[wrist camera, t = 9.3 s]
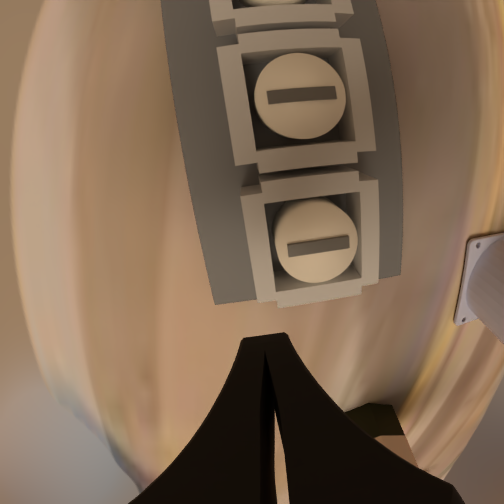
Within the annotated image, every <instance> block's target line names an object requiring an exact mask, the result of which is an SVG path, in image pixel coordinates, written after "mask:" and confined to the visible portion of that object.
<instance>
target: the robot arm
mask: <svg viewBox="0 0 504 504" xmlns="http://www.w3.org/2000/svg"><path fill="white" fill-rule="evenodd" d="M477 243H478V244H477ZM476 245H477V246H476ZM478 318H479V319H480V320H481V321H482V322H483V323H484V324H485V325H486V326H487V327H488V328H489V329H490V331H491V332H492V333H493V334H494V335H495V336H496V337H497V338H498V339H499V340H500V341H501V342H502V343H503V344H504V233H499V234H494V235H489V236H483V237H478V238H473V239H470V240H469V242H468V244H467V251H466V259H465V266H464V272H463V278H462V284H461V289H460V294H459V299H458V304H457V309H456V313H455V318H454V324H455V325H457V326H458V325H461V324H464V323H467V322H470V321H473V320H476V319H478ZM275 413H276V417H277V422H278V426H279V431H280V435H281V440H282V444H283V449H284V454H285V463H286V473H287V482H288V492H289V502H290V504H465V503H464V501H463V500H462V498H461V496H460V495H459V493H458V492H457V490H456V489H455V487H454V486H453V485H452V484H450V483H448V482H445V481H443V480H441V479H439V478H437V477H435V476H433V475H431V474H429V473H427V472H425V471H423V470H421V469H419V468H418V467H416V466H414V465H413V464H411V463H409V462H408V461H406V460H404V459H403V458H401V457H400V456H398V455H397V454H395V453H394V452H392V451H391V450H390V449H388V448H387V447H385V446H384V445H383V444H381V443H380V442H378V441H377V440H376V439H374V438H373V437H372V436H370V435H369V434H368V433H367V432H366V431H364V430H363V429H362V428H361V427H360V426H359V425H357V424H356V423H355V422H354V421H353V420H352V419H351V418H350V417H349V416H348V415H347V414H346V413H345V412H344V411H343V410H342V409H341V408H340V407H339V406H338V405H337V404H336V403H335V402H334V401H333V400H332V399H331V398H330V397H329V395H328V394H327V393H326V392H325V391H324V390H323V389H322V387H321V386H320V385H319V384H318V382H317V381H316V380H315V378H314V377H313V376H312V374H311V373H310V372H309V370H308V369H307V368H306V366H305V365H304V363H303V362H302V360H301V359H300V357H299V355H298V354H297V352H296V350H295V349H294V347H293V345H292V343H291V341H290V339H289V336H288V334H286V333H285V332H283V333H276V334H269V335H262V336H254V337H246V338H243V339H242V340H241V342H240V346H239V349H238V353H237V356H236V358H235V361H234V363H233V366H232V368H231V371H230V373H229V375H228V377H227V379H226V382H225V384H224V386H223V388H222V390H221V392H220V394H219V396H218V397H217V399H216V401H215V403H214V405H213V406H212V408H211V410H210V412H209V413H208V415H207V417H206V418H205V420H204V421H203V423H202V424H201V426H200V427H199V429H198V430H197V432H196V433H195V435H194V436H193V437H192V439H191V440H190V441H189V443H188V444H187V445H186V446H185V448H184V449H183V450H182V451H181V453H180V454H179V455H178V456H177V457H176V459H175V460H174V461H173V462H172V463H171V464H170V465H169V466H168V468H167V469H166V470H165V471H164V472H163V473H162V474H161V475H160V476H159V477H158V478H157V479H156V480H154V481H153V482H152V483H151V484H150V485H149V486H148V487H147V488H146V489H145V490H144V491H143V492H142V493H141V494H139V495H138V496H137V497H136V498H135V499H134V500H132V501H131V502H129V503H128V504H277V496H276V486H275V470H274V453H275Z"/></svg>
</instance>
